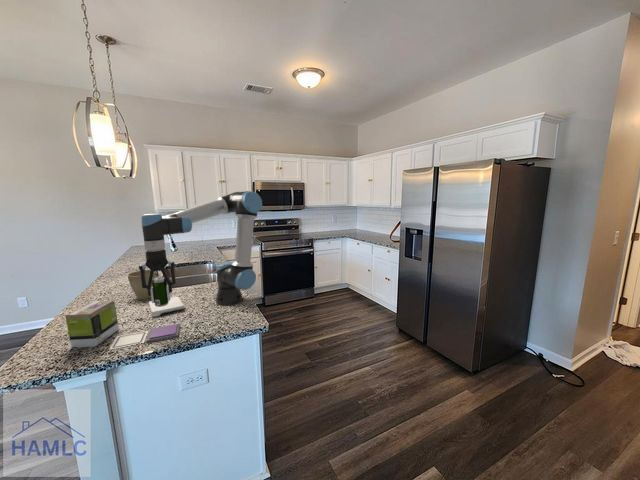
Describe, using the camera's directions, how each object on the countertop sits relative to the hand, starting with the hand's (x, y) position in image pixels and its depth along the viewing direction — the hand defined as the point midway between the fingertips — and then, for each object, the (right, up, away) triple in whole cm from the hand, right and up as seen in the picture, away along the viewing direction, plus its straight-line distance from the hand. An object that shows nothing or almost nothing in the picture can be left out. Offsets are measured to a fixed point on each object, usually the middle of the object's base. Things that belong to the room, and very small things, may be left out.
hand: (161, 300), depth 120 cm
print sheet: (-12, -16, -3) cm, 20 cm away
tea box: (-28, -17, -1) cm, 32 cm away
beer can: (0, -2, 0) cm, 2 cm away
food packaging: (-16, -12, +31) cm, 37 cm away
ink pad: (0, -15, +2) cm, 16 cm away
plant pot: (-39, -9, +49) cm, 63 cm away
